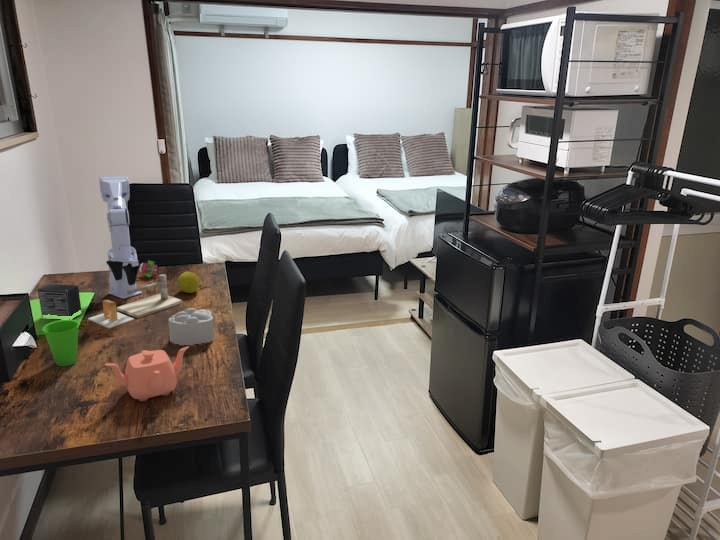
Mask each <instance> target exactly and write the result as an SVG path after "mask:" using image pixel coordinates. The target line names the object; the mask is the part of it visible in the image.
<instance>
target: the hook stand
mask: <svg viewBox="0 0 720 540" xmlns="http://www.w3.org/2000/svg"><path fill="white" fill-rule="evenodd" d="M158 280H159V281H155V282H153V283H149V284H147V285H143V286H140V287H137V288H136V289H133V290H129V291H127V294H132V293H135V292H138V291H141V292H142V291H145V290H147V289H151V288H153V287H157V286H159V291H160V293H157V294H153V295H151V296H148V297H144V298H141V299H138V300H135V301H132V302H129V303H126V304H122V305H120V306H116V310H117V311H118V312H120V313H121V312H122V313H124V314H127V315H128V316H132V317H133V318H136V319H141V318H143V317H146V316H148V315H152V314H154V313H158V312H161V311H163V310H166V309H168V308H172V307H174V306H177V305H180V304H182V303H183V299H181V298H177V297H174V296H171V295H169V294H168V283H167V274H159V275H158Z"/></svg>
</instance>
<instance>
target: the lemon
mask: <svg viewBox="0 0 720 540" xmlns="http://www.w3.org/2000/svg"><path fill="white" fill-rule="evenodd" d="M177 280H178V281H177V286H178V287H179V289H180V290H181V291H182V292H184V293H186V294H192V293H195V292H196V291H198V289H199V287H200V278H199V277H198V275H197V274H196V273H194V272H192V271H185V272H182V273H181V274H180V275H179V276H178V279H177Z"/></svg>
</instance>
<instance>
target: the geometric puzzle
mask: <svg viewBox="0 0 720 540" xmlns="http://www.w3.org/2000/svg"><path fill="white" fill-rule="evenodd" d="M139 264H140V266H141V267H140V268H139V270H138V271H139V272H140V273H141V274H142V275H144V277H146V278H150V279H151V278H152V277H153V276H155V275H157V272H158V270H159V269H158V267H159V265H158V264H157V263H155V261H153V260H149V259H148V260H147V261H145V262H142V263H139Z"/></svg>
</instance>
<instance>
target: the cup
mask: <svg viewBox="0 0 720 540" xmlns="http://www.w3.org/2000/svg"><path fill="white" fill-rule="evenodd" d="M80 325H81V323H80V322H79V321H78V320H76V319H73V320H70V319H69V320H54V321H51V322H49V323H47V324H45V325H43V327H42V328H41V331H42V333H44V335H45V338H46V340H47V343H48V345H49V348H50V351H51V353H52V357H53V359H54V361H55V364H56V365H57V366H59V367H68V366H71V365H74V364H75V363H76V362H77V361H78V344H79V340H78V339H79V327H80Z"/></svg>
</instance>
